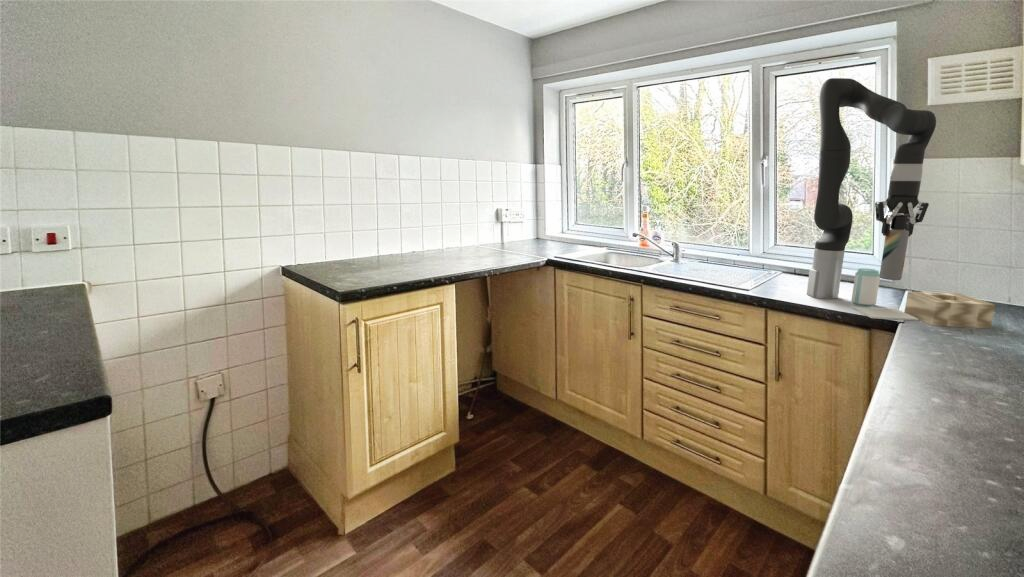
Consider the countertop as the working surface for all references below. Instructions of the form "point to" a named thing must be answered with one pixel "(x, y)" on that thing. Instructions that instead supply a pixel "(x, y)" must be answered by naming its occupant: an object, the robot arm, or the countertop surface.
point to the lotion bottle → (895, 249)
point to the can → (865, 287)
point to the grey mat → (885, 313)
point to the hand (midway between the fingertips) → (896, 235)
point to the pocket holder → (949, 309)
